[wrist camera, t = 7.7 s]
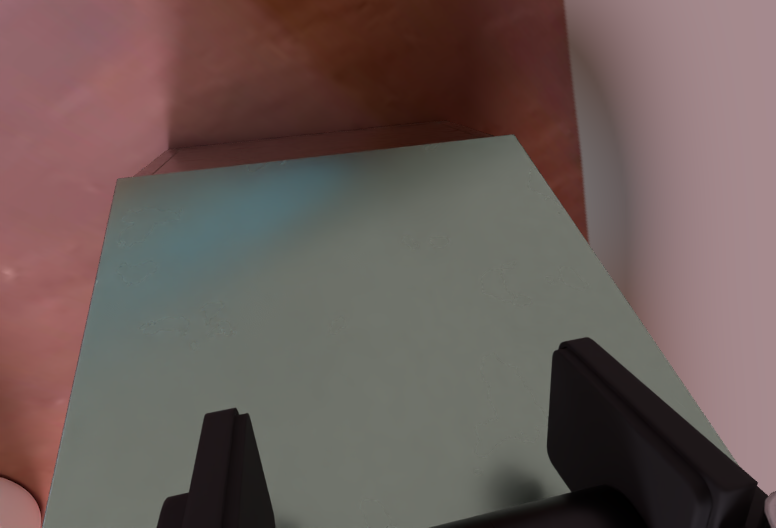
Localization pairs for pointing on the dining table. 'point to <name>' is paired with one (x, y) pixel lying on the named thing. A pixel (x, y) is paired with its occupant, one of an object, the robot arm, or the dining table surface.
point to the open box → (307, 146)
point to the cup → (17, 507)
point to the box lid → (347, 342)
